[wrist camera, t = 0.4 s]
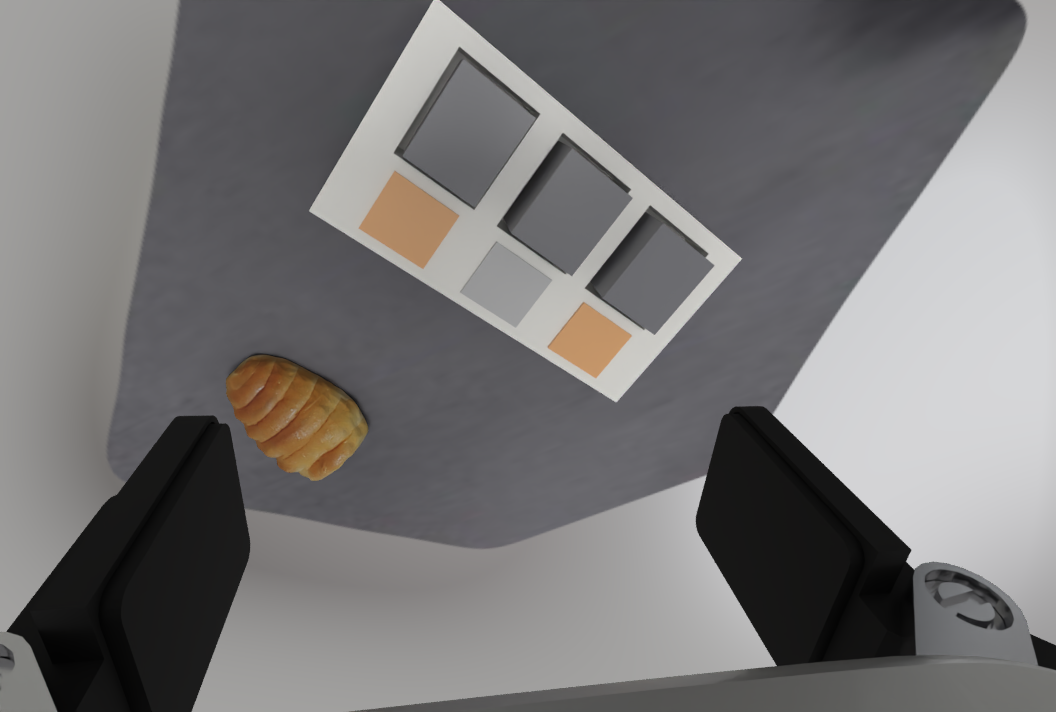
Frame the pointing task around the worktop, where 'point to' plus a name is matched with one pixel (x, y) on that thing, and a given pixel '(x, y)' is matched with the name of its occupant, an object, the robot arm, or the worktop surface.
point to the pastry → (295, 415)
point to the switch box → (481, 232)
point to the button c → (650, 273)
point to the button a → (468, 133)
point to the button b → (566, 208)
